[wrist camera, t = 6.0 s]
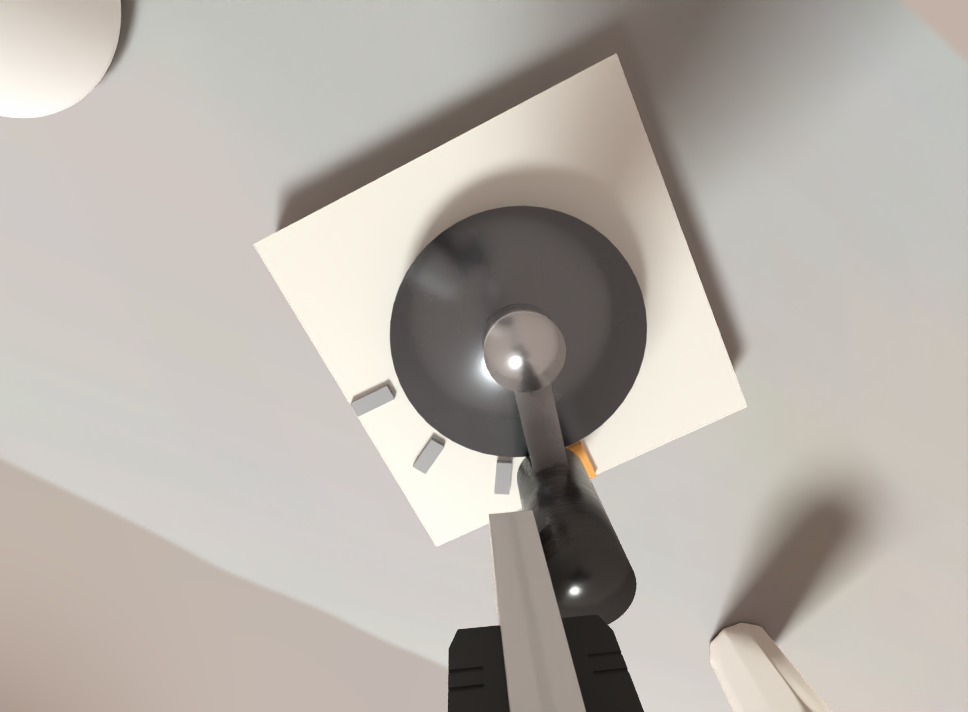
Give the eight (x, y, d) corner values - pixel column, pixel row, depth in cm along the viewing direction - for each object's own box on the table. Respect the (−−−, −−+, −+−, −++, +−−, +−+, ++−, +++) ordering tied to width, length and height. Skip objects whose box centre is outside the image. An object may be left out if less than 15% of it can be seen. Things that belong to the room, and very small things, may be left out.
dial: (363, 241, 18) (298, 258, 11) (614, 178, 18) (710, 154, 11) (445, 515, 21) (435, 664, 14) (661, 464, 21) (759, 591, 14)
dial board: (273, 241, 20) (250, 244, 18) (601, 69, 19) (618, 50, 17) (438, 519, 24) (436, 550, 21) (722, 390, 22) (750, 409, 20)
